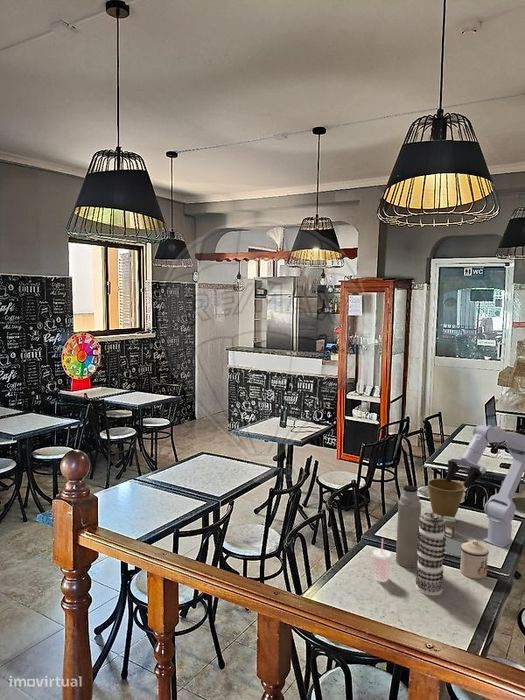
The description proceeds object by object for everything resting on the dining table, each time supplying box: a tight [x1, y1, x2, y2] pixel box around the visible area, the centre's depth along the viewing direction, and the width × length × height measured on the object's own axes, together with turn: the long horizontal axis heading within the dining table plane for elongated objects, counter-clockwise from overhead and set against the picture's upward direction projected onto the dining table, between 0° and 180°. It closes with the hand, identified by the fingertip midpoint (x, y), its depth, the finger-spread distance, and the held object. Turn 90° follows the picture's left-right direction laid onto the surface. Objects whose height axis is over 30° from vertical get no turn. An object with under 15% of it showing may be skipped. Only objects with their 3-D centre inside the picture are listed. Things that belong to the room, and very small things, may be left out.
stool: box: [443, 516, 457, 538], centre depth 218 cm, size 5×5×6 cm
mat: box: [443, 536, 464, 558], centre depth 207 cm, size 12×12×1 cm
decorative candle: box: [415, 511, 446, 596], centre depth 175 cm, size 9×9×25 cm
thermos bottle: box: [395, 485, 422, 569], centre depth 193 cm, size 8×8×28 cm
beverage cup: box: [372, 538, 392, 583], centre depth 181 cm, size 6×6×14 cm
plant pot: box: [427, 478, 465, 518], centre depth 232 cm, size 15×15×16 cm
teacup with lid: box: [459, 539, 490, 580], centre depth 188 cm, size 12×9×12 cm
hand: (456, 483), depth 195 cm, fingers open, 7 cm apart
